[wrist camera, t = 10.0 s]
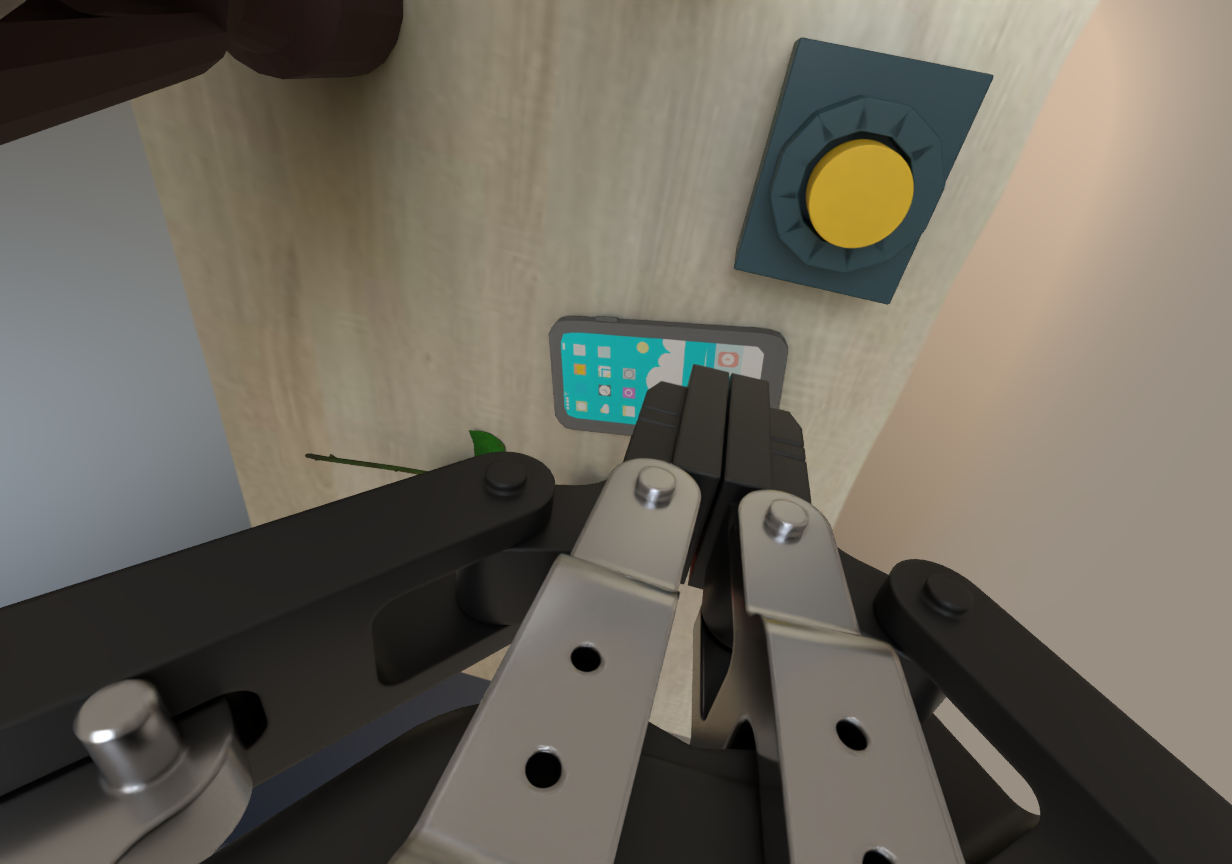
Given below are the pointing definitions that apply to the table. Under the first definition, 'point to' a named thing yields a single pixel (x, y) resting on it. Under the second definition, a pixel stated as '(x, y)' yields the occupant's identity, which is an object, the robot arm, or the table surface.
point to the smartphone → (647, 364)
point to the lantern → (171, 48)
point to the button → (859, 193)
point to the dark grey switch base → (837, 113)
